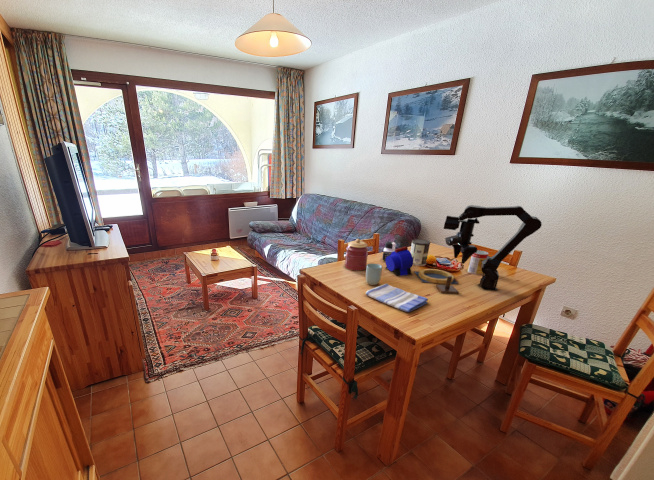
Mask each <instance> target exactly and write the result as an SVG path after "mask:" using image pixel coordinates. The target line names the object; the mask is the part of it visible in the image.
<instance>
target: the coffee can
mask: <svg viewBox="0 0 654 480" xmlns="http://www.w3.org/2000/svg"><path fill="white" fill-rule="evenodd" d="M430 246H431V241H430V240H427V239H419V238H417V239H416V238H415V239H412V240H411V246H410V250H409V251H410V253H411V255H412V257H413V265H412V266H418V267H423V266H426V265H427V261H426V260H428V255H429V250H430Z"/></svg>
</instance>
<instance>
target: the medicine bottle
mask: <svg viewBox="0 0 654 480" xmlns="http://www.w3.org/2000/svg"><path fill="white" fill-rule="evenodd" d="M396 245H397V244H396V243H395V242H394V241H386V242H385V245H384V248H383V251H382V256H381V257H382V258H381V262H383V263H386V257H387V256H390V255H391V253H392V252H393V251H395V249H396Z"/></svg>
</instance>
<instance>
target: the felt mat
mask: <svg viewBox="0 0 654 480" xmlns="http://www.w3.org/2000/svg"><path fill="white" fill-rule="evenodd" d="M413 272H414V274H415V275H416V276H417V278H418V279H419V280H420V281H421V282H422V283H425V284H426V283H427V284H434V283H433V282H428V281H426V280H423V279H421V278H420V277H419V272H420V271H413ZM425 275H426V276H429V277H432V278H437V279H446V278H447V277H446V276H443V275H440V274H435V273H427V274H425ZM450 285H459V283H458V282H457V281H456V280H455V279H454V280H453V281H452V283H451V284H450Z"/></svg>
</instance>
